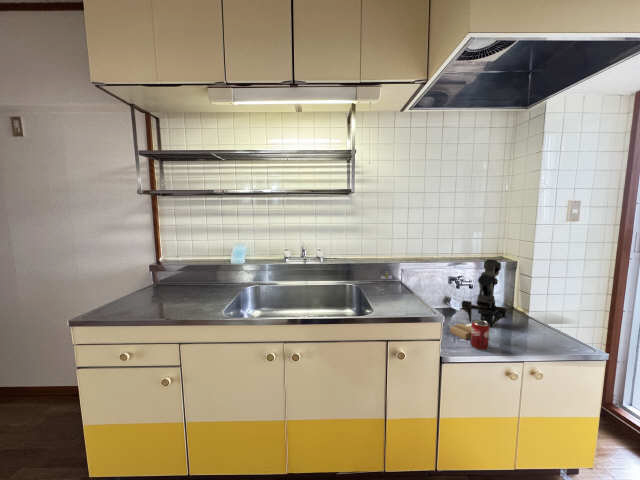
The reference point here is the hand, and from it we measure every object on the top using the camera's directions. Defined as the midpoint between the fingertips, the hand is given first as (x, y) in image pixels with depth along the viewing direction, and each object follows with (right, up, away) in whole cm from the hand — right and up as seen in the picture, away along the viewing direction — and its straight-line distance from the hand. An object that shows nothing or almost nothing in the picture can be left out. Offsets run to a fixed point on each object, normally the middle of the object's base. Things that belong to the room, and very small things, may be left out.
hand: (481, 324), depth 129 cm
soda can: (-2, -10, -1) cm, 11 cm away
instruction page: (+5, -8, +19) cm, 21 cm away
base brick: (-2, -9, +12) cm, 15 cm away
